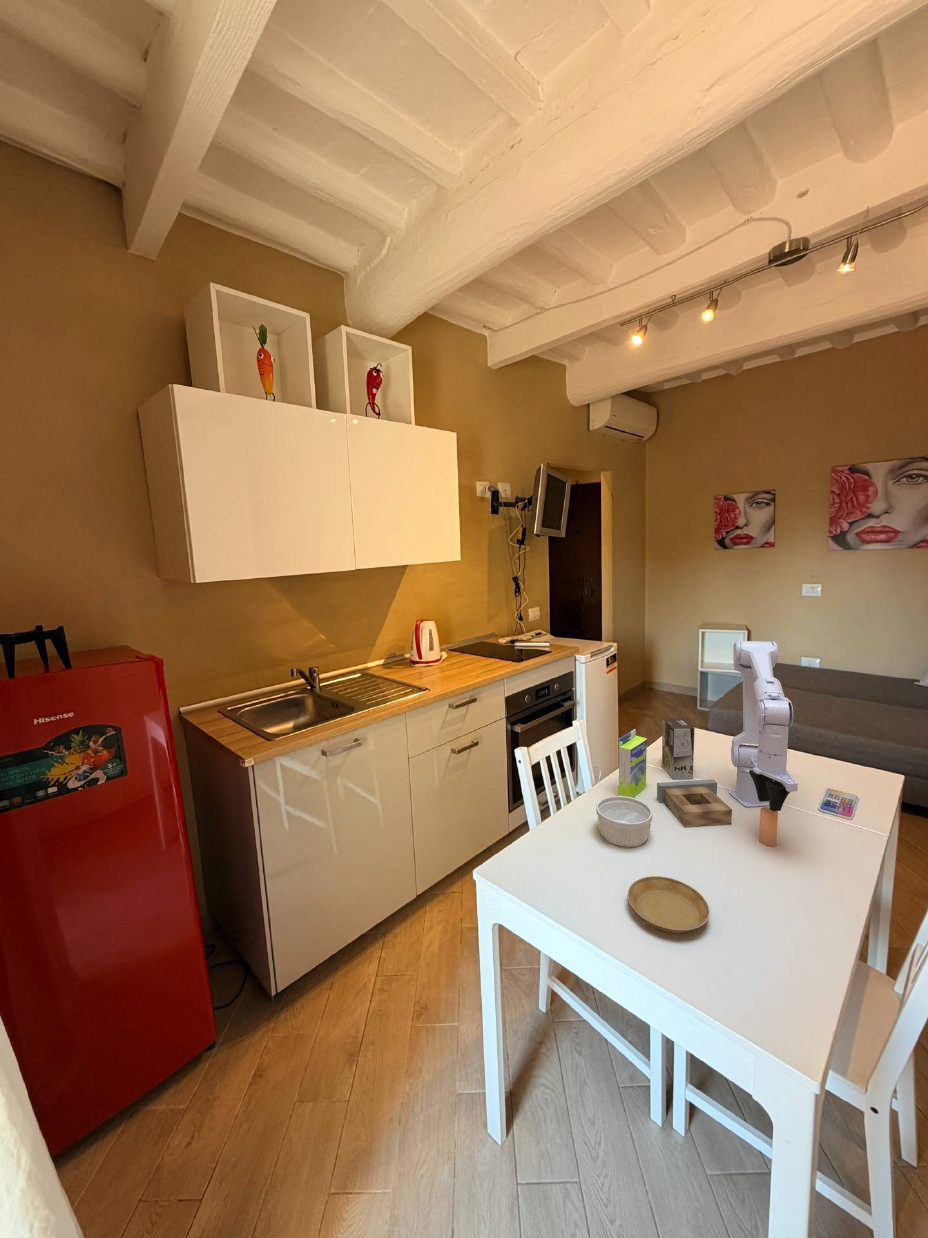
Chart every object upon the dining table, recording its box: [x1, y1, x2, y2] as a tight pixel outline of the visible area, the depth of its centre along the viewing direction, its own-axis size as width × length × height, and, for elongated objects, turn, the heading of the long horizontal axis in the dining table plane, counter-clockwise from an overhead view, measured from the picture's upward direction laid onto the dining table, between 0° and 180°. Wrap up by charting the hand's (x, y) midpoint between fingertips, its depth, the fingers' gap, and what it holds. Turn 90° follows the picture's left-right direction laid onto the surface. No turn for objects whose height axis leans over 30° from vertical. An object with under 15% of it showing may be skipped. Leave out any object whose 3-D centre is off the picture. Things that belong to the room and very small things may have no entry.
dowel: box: [758, 806, 779, 848], centre depth 116 cm, size 4×4×8 cm
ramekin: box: [595, 795, 653, 848], centre depth 122 cm, size 13×13×7 cm
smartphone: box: [817, 788, 860, 821], centre depth 131 cm, size 7×1×15 cm
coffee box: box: [661, 717, 696, 780], centre depth 152 cm, size 9×6×16 cm
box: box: [618, 728, 648, 798], centre depth 141 cm, size 10×4×17 cm, turn 135°
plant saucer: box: [627, 875, 710, 934], centre depth 96 cm, size 15×15×3 cm
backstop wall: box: [656, 778, 718, 804], centre depth 136 cm, size 16×2×5 cm, turn 92°
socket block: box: [663, 786, 733, 828], centre depth 130 cm, size 12×12×4 cm
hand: (769, 805), depth 115 cm, fingers open, 4 cm apart
